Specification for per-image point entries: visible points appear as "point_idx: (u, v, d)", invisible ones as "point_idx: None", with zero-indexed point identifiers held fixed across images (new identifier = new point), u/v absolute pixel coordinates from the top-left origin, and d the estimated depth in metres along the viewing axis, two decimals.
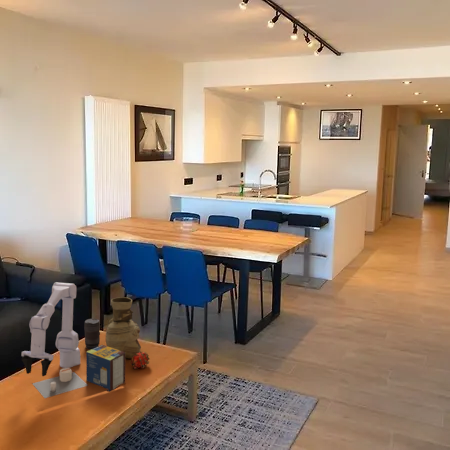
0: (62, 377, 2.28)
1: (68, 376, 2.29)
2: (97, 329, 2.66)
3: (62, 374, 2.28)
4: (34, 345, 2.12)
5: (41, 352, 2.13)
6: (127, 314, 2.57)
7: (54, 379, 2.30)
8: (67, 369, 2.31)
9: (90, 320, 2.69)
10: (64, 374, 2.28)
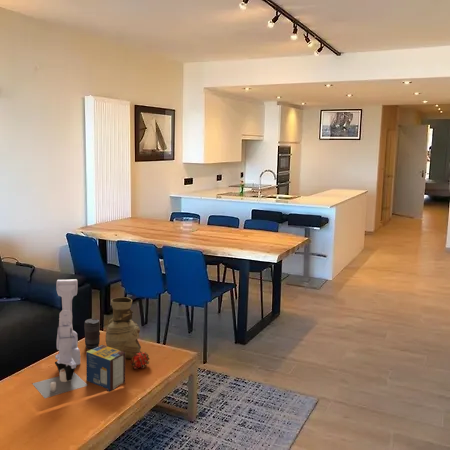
0: (62, 377, 2.28)
1: None
2: (97, 329, 2.66)
3: (62, 374, 2.28)
4: (60, 352, 2.27)
5: (66, 359, 2.27)
6: (127, 314, 2.57)
7: (54, 379, 2.30)
8: None
9: (90, 320, 2.69)
10: (64, 374, 2.28)
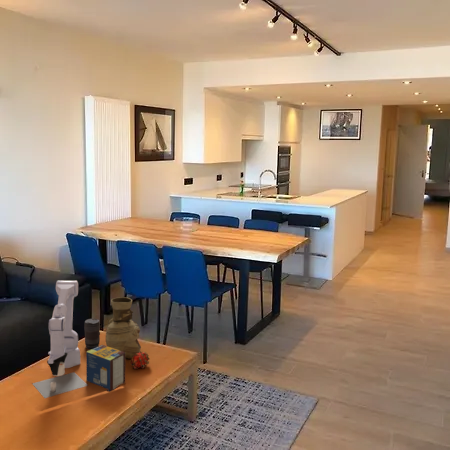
0: None
1: None
2: (97, 329, 2.66)
3: None
4: None
5: (52, 352, 2.19)
6: (127, 314, 2.57)
7: (54, 379, 2.30)
8: (60, 364, 2.22)
9: (90, 320, 2.69)
10: None
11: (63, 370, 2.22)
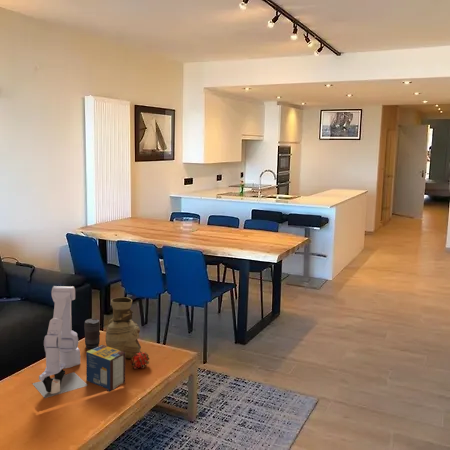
0: None
1: None
2: (97, 329, 2.66)
3: None
4: None
5: (46, 369, 2.17)
6: (127, 314, 2.57)
7: None
8: (55, 381, 2.19)
9: (90, 320, 2.69)
10: None
11: (58, 388, 2.19)
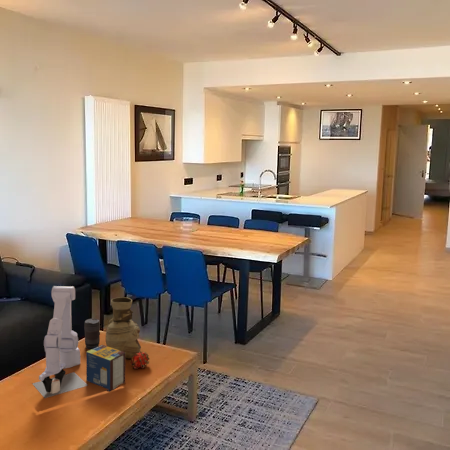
0: None
1: (55, 388, 2.18)
2: (97, 329, 2.66)
3: None
4: None
5: (46, 369, 2.17)
6: (127, 314, 2.57)
7: None
8: (55, 380, 2.20)
9: (90, 320, 2.69)
10: (51, 385, 2.17)
11: None
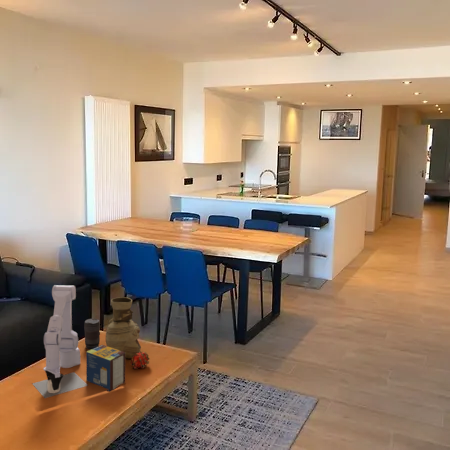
0: None
1: (59, 385, 2.21)
2: (97, 329, 2.66)
3: None
4: (46, 359, 2.16)
5: (51, 367, 2.16)
6: (127, 314, 2.57)
7: None
8: None
9: (90, 320, 2.69)
10: None
11: None
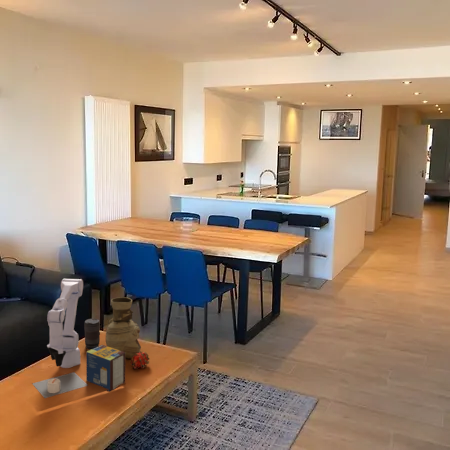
0: (55, 388, 2.18)
1: (59, 385, 2.21)
2: (97, 329, 2.66)
3: (55, 385, 2.18)
4: (50, 336, 2.25)
5: (55, 344, 2.25)
6: (127, 314, 2.57)
7: None
8: (54, 379, 2.21)
9: (90, 320, 2.69)
10: (57, 384, 2.19)
11: None
